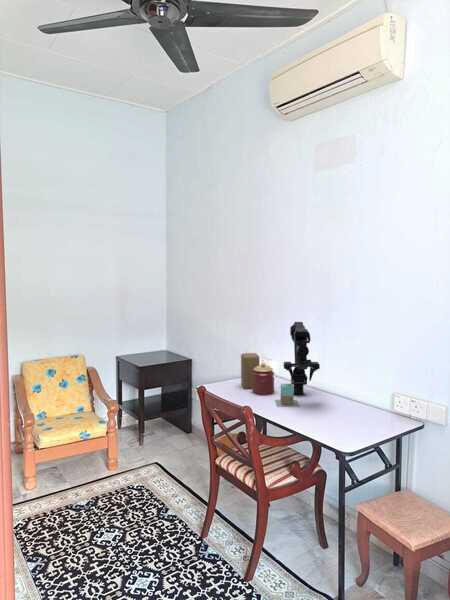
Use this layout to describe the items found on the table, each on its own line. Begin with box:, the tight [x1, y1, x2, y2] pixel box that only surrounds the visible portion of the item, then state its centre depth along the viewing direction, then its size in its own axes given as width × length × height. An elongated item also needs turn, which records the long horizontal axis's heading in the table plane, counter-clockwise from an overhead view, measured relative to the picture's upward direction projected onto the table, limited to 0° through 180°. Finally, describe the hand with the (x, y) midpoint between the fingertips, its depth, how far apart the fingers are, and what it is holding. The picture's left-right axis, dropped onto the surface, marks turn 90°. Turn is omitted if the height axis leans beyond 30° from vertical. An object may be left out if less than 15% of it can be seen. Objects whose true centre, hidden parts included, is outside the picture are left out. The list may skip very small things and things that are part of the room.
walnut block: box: [280, 393, 294, 405], centre depth 236 cm, size 6×6×5 cm
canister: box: [251, 362, 275, 396], centre depth 257 cm, size 13×13×18 cm
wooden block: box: [240, 352, 260, 390], centre depth 269 cm, size 10×10×20 cm
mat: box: [274, 399, 301, 408], centre depth 236 cm, size 12×12×1 cm
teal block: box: [280, 383, 294, 397], centre depth 236 cm, size 6×6×5 cm
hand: (301, 381), depth 236 cm, fingers open, 9 cm apart
